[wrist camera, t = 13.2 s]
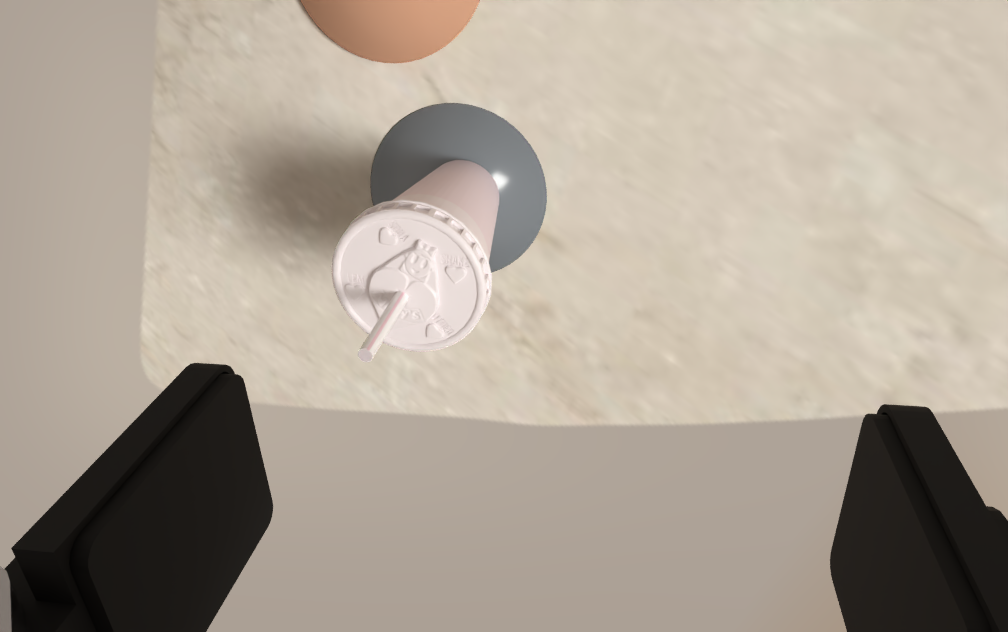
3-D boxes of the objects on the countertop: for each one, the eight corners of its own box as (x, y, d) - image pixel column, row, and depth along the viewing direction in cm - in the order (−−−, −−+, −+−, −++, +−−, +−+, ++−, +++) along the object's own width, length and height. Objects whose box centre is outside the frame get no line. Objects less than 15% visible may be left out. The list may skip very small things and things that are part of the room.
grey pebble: (369, 251, 41) (365, 257, 40) (382, 84, 37) (377, 87, 36) (531, 285, 40) (530, 291, 40) (563, 119, 36) (562, 123, 35)
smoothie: (383, 216, 39) (260, 366, 27) (430, 108, 36) (314, 225, 24) (492, 274, 40) (419, 445, 28) (549, 172, 36) (493, 318, 24)
